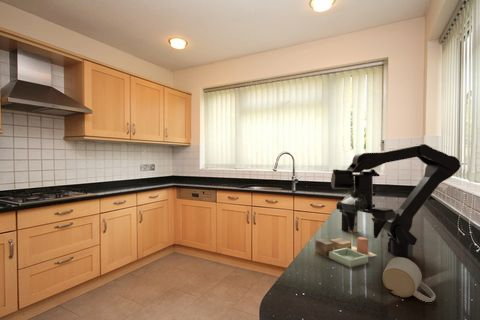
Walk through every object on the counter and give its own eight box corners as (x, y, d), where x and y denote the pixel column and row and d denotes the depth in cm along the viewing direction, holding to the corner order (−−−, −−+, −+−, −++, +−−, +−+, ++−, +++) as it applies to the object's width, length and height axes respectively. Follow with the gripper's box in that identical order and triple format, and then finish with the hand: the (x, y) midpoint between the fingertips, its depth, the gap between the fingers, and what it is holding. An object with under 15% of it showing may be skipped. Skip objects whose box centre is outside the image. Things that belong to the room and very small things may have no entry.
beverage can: (343, 230, 115) (344, 205, 115) (358, 233, 111) (359, 207, 111) (339, 233, 110) (339, 207, 110) (355, 236, 106) (355, 209, 106)
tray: (368, 262, 76) (368, 256, 76) (350, 267, 72) (350, 260, 72) (346, 253, 83) (346, 247, 83) (329, 257, 79) (329, 251, 79)
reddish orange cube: (370, 252, 84) (370, 239, 84) (363, 254, 82) (363, 241, 82) (361, 249, 87) (361, 236, 87) (354, 251, 85) (354, 238, 85)
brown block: (333, 255, 82) (333, 243, 82) (326, 256, 80) (326, 244, 80) (321, 249, 86) (321, 238, 86) (315, 251, 85) (315, 239, 85)
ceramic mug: (380, 292, 62) (381, 262, 61) (387, 280, 68) (388, 253, 68) (433, 311, 55) (435, 277, 54) (436, 296, 61) (437, 265, 60)
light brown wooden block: (351, 250, 86) (351, 242, 86) (341, 253, 84) (341, 244, 84) (339, 246, 90) (339, 238, 90) (330, 248, 88) (330, 239, 88)
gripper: (325, 187, 89) (325, 230, 89) (373, 194, 73) (373, 246, 73) (346, 186, 94) (346, 226, 94) (396, 191, 78) (395, 240, 78)
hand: (363, 234), depth 85 cm, fingers open, 9 cm apart
